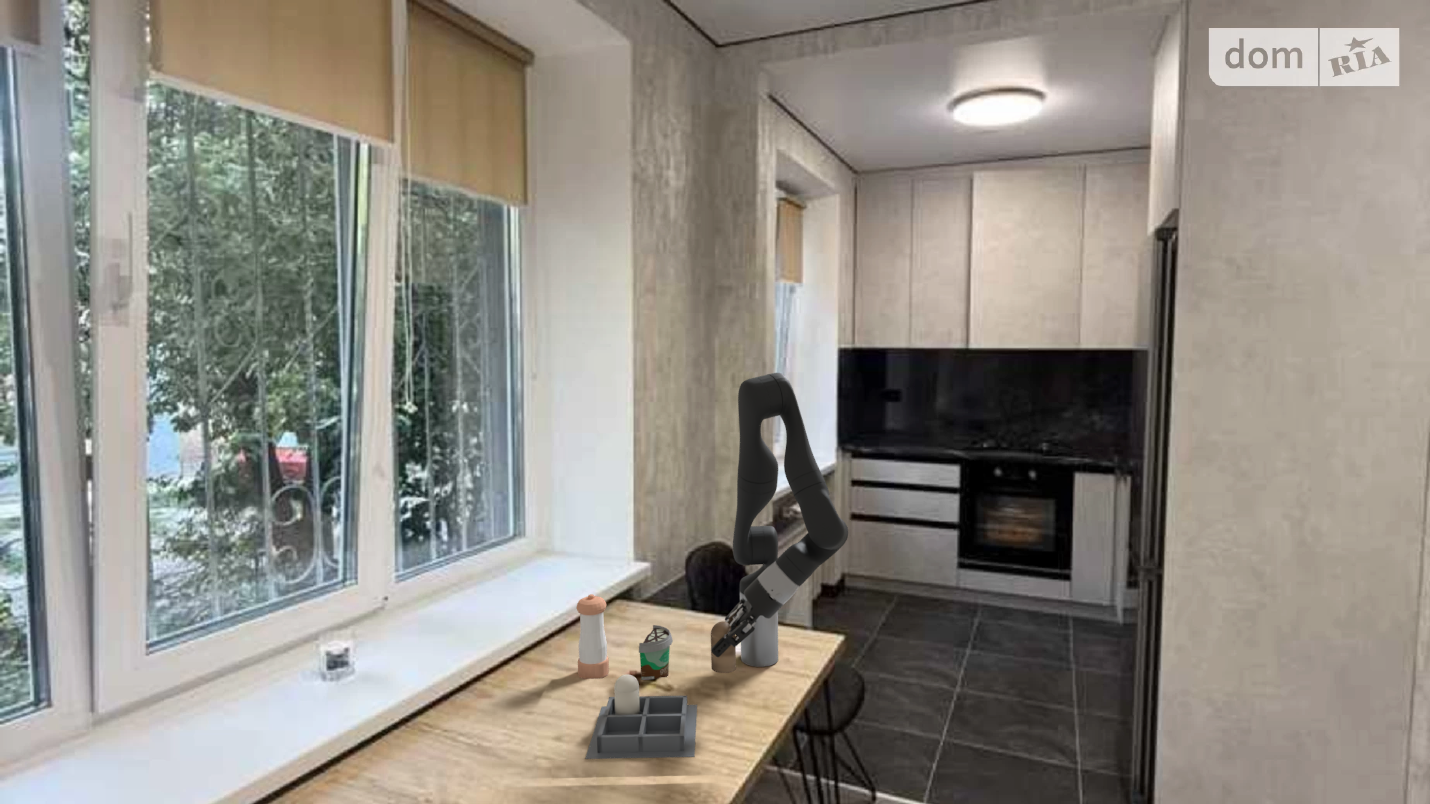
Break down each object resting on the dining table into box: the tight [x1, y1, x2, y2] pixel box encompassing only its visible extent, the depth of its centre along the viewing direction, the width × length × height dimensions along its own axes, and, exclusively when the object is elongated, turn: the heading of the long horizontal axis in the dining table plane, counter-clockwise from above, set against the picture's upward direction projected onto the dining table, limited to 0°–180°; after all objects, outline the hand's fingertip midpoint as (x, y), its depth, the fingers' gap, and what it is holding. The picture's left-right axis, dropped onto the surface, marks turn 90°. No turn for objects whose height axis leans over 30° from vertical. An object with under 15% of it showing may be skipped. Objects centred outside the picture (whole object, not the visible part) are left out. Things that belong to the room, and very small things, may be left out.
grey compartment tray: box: [584, 695, 698, 760], centre depth 149 cm, size 20×20×4 cm
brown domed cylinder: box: [710, 621, 737, 674], centre depth 152 cm, size 5×5×10 cm
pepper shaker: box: [576, 594, 610, 680], centre depth 178 cm, size 7×7×19 cm
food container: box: [638, 624, 673, 681], centre depth 176 cm, size 12×6×10 cm, turn 168°
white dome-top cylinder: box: [613, 673, 640, 715], centre depth 153 cm, size 5×5×10 cm
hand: (714, 647), depth 152 cm, fingers closed on brown domed cylinder, 5 cm apart
